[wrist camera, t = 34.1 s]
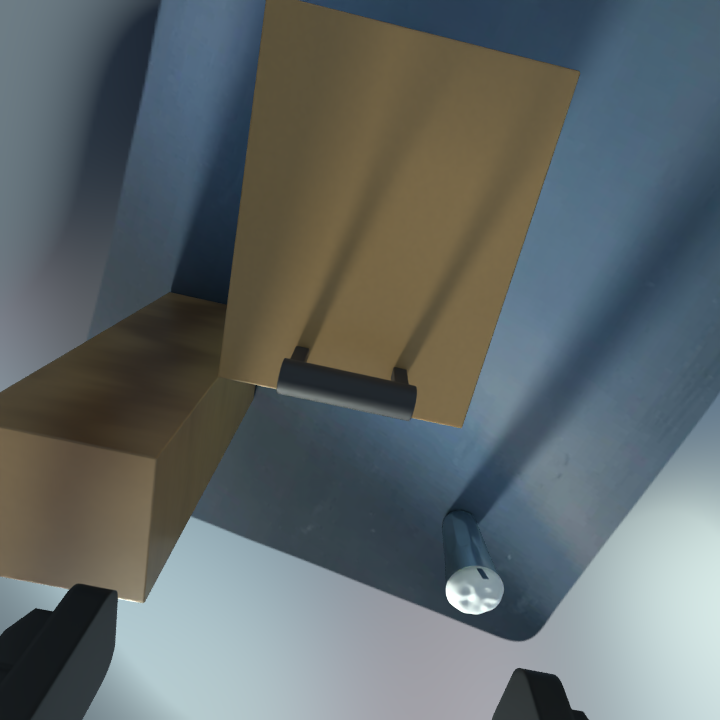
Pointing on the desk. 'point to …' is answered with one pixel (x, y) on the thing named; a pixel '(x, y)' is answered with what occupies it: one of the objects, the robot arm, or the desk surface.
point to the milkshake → (469, 566)
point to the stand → (115, 449)
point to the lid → (382, 210)
